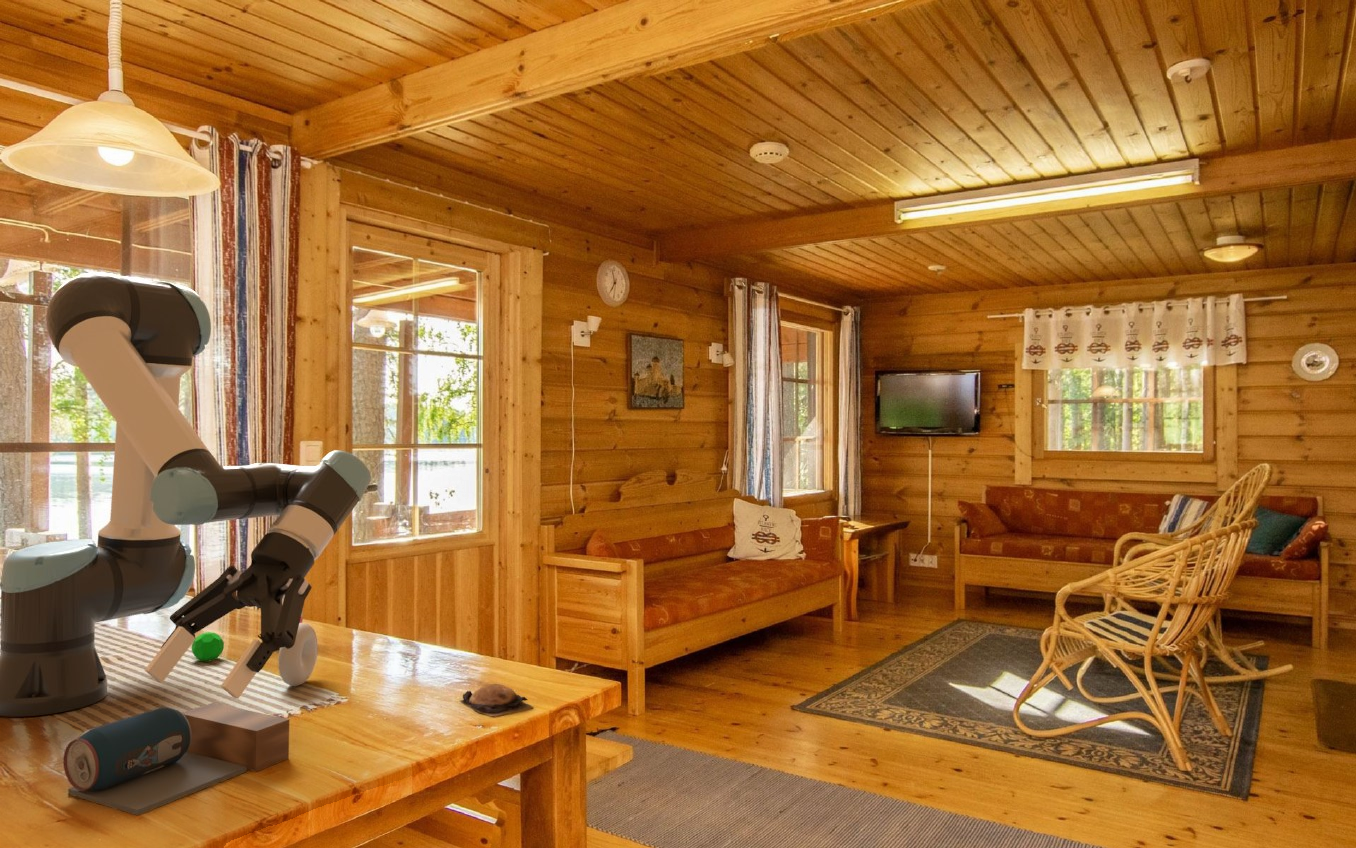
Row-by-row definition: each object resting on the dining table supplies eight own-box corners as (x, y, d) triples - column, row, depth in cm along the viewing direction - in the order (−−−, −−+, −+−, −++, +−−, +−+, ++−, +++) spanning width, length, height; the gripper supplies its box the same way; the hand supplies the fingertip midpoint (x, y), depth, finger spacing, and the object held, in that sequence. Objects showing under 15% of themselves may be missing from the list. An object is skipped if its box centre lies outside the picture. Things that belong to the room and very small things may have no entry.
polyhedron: (185, 662, 160) (185, 635, 160) (205, 655, 165) (205, 629, 165) (209, 665, 159) (210, 637, 159) (229, 658, 164) (230, 631, 164)
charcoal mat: (68, 794, 105) (68, 788, 105) (180, 754, 118) (180, 750, 118) (137, 815, 100) (137, 810, 100) (246, 771, 113) (246, 767, 113)
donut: (295, 694, 144) (296, 630, 144) (273, 694, 144) (274, 630, 144) (320, 676, 154) (321, 616, 154) (299, 676, 154) (301, 616, 154)
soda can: (151, 713, 116) (53, 743, 105) (186, 697, 114) (89, 726, 103) (166, 766, 115) (69, 803, 104) (201, 752, 112) (106, 787, 102)
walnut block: (178, 752, 119) (179, 713, 119) (212, 740, 123) (213, 702, 123) (255, 771, 113) (256, 731, 113) (288, 758, 117) (289, 719, 117)
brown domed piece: (537, 712, 140) (538, 688, 140) (487, 723, 134) (488, 698, 134) (501, 694, 148) (502, 671, 148) (453, 704, 142) (454, 680, 142)
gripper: (375, 571, 123) (281, 716, 109) (243, 556, 133) (143, 685, 120) (346, 536, 118) (244, 682, 105) (211, 523, 129) (103, 654, 115)
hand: (190, 684), depth 112 cm, fingers open, 13 cm apart
